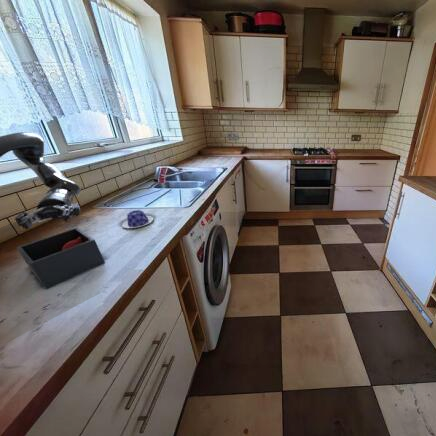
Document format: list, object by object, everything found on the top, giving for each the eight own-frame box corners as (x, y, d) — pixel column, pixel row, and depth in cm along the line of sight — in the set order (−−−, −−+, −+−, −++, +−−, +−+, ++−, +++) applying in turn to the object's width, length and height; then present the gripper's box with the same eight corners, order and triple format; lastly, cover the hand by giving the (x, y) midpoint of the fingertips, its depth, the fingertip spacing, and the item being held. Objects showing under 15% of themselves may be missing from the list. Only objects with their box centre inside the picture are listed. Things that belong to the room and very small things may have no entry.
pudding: (127, 232, 94) (123, 221, 92) (118, 223, 101) (114, 213, 98) (158, 222, 102) (155, 211, 100) (147, 215, 109) (144, 205, 107)
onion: (83, 263, 77) (94, 240, 80) (75, 261, 72) (87, 237, 75) (62, 259, 75) (74, 236, 78) (52, 257, 70) (66, 233, 73)
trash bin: (46, 289, 65) (29, 263, 61) (31, 271, 72) (16, 247, 68) (105, 262, 76) (94, 239, 72) (87, 249, 83) (77, 227, 79)
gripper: (86, 209, 85) (81, 226, 73) (32, 219, 78) (18, 240, 66) (77, 190, 82) (71, 205, 70) (21, 199, 74) (3, 216, 62)
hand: (45, 222), depth 68 cm, fingers open, 8 cm apart
